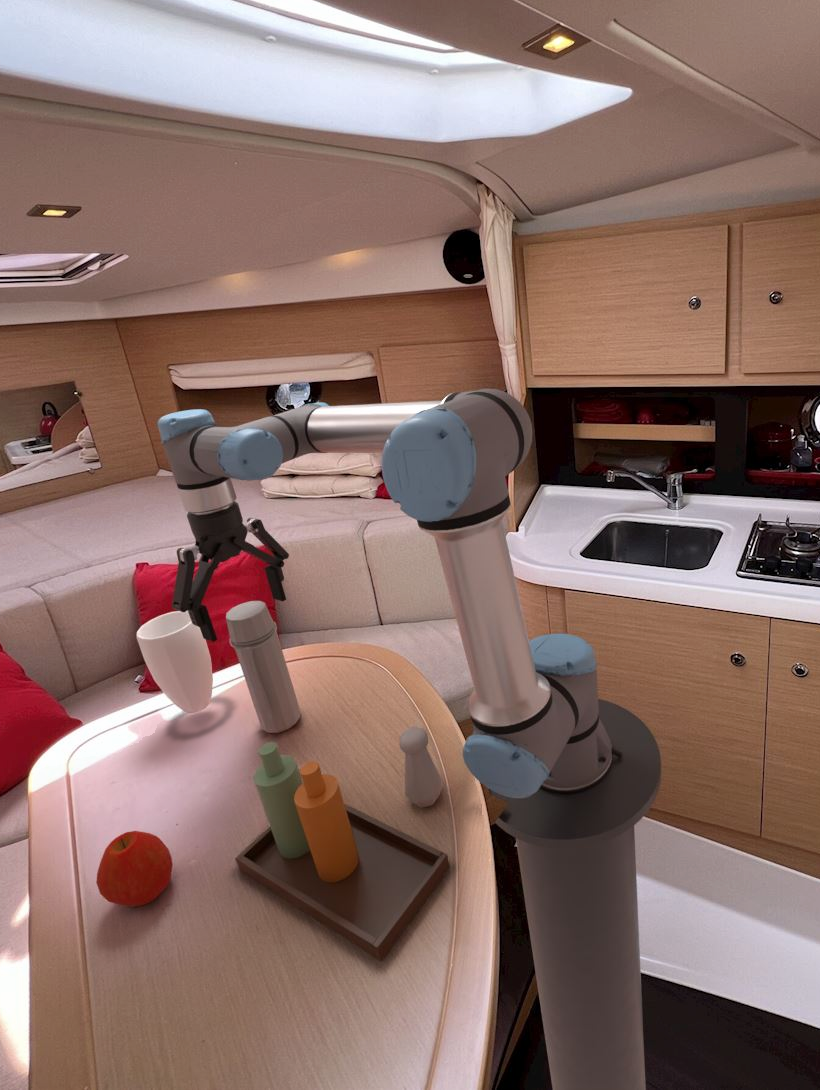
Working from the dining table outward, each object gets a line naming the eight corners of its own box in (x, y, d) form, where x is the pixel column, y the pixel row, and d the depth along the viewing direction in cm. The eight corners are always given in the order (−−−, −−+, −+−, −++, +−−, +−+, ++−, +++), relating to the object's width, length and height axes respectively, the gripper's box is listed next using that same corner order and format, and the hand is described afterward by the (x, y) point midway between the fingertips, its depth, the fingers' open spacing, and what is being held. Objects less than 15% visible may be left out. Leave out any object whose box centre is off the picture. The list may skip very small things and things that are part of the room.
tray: (450, 867, 84) (447, 854, 83) (381, 961, 73) (377, 948, 72) (315, 799, 97) (311, 787, 96) (239, 870, 86) (234, 858, 85)
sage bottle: (320, 821, 93) (292, 729, 86) (316, 852, 87) (285, 757, 81) (282, 830, 91) (250, 738, 85) (275, 863, 86) (241, 768, 80)
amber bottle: (360, 841, 89) (333, 747, 82) (358, 876, 83) (329, 778, 77) (320, 852, 87) (289, 757, 81) (315, 887, 82) (283, 789, 76)
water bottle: (265, 713, 118) (229, 603, 108) (307, 705, 119) (275, 596, 110) (252, 747, 109) (212, 631, 100) (297, 738, 111) (261, 623, 101)
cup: (233, 693, 124) (201, 603, 116) (228, 725, 115) (194, 630, 107) (176, 709, 121) (139, 618, 113) (167, 743, 112) (126, 647, 104)
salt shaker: (404, 814, 93) (388, 749, 88) (411, 784, 98) (396, 721, 94) (441, 810, 93) (428, 745, 88) (446, 781, 98) (434, 718, 94)
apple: (102, 930, 80) (71, 874, 76) (125, 874, 87) (98, 821, 83) (170, 910, 82) (143, 855, 78) (187, 857, 89) (164, 804, 85)
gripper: (263, 478, 109) (291, 581, 117) (117, 534, 89) (163, 652, 97) (291, 483, 106) (318, 588, 114) (145, 541, 86) (190, 664, 94)
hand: (247, 618), depth 105 cm, fingers open, 13 cm apart
